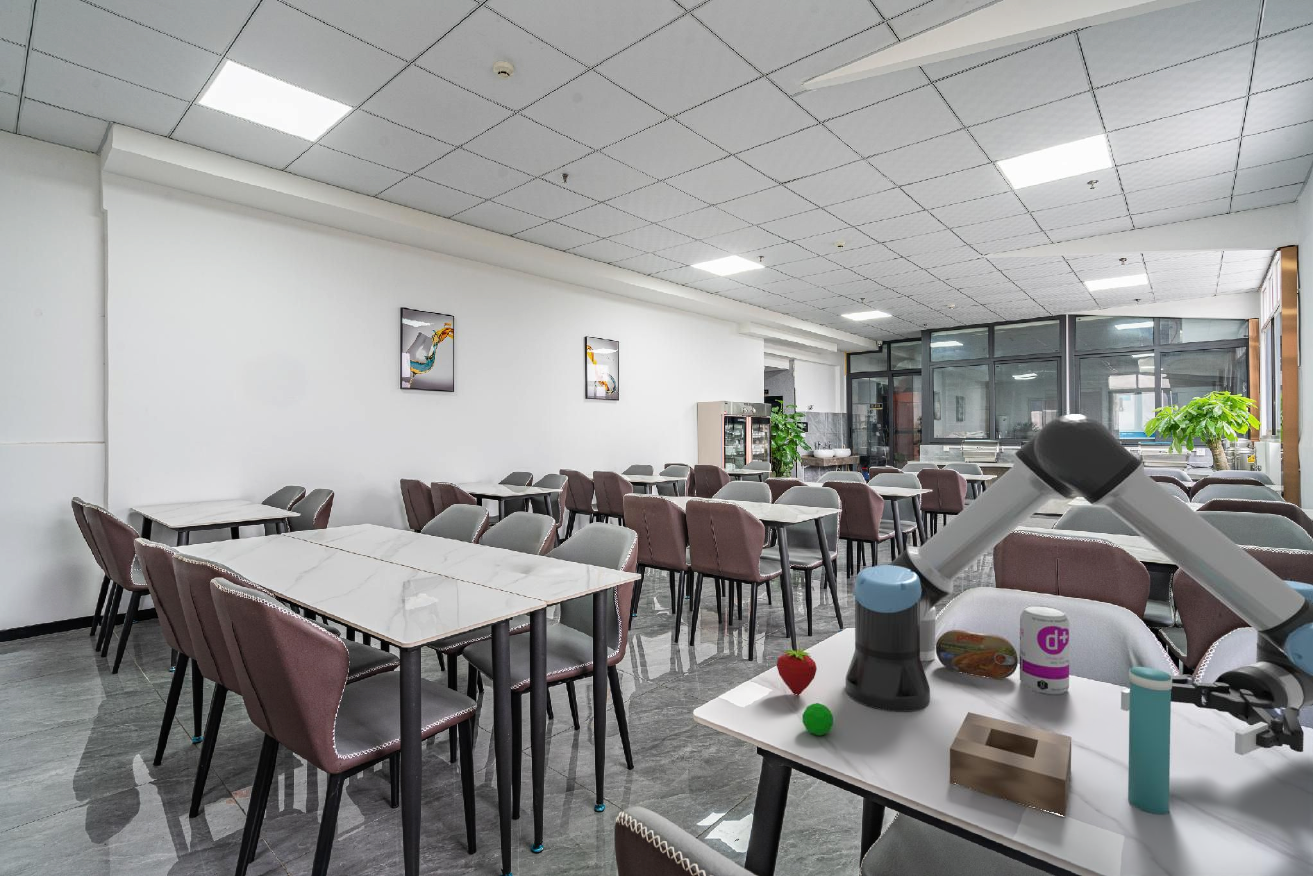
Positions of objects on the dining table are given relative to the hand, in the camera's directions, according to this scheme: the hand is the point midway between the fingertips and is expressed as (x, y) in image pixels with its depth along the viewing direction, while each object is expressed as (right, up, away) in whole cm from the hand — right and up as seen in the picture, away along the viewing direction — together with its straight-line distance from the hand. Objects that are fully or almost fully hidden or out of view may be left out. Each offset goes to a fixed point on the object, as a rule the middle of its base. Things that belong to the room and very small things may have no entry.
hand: (1176, 720), depth 88 cm
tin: (-6, -10, +44) cm, 45 cm away
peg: (-5, -11, -1) cm, 12 cm away
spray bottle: (-14, -9, +53) cm, 56 cm away
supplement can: (+4, -10, +37) cm, 38 cm away
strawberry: (-45, -10, +34) cm, 57 cm away
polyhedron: (-45, -11, +19) cm, 50 cm away
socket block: (-20, -11, +6) cm, 23 cm away
